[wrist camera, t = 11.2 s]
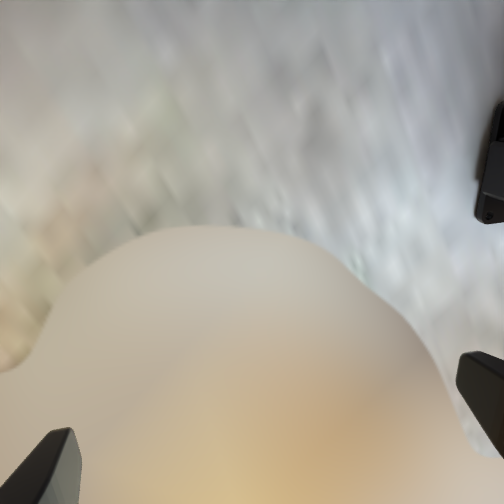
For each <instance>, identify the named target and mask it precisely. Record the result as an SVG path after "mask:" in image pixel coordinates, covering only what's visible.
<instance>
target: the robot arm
mask: <svg viewBox="0 0 504 504" xmlns="http://www.w3.org/2000/svg"><path fill="white" fill-rule="evenodd" d="M487 213H488V215H487V216H486V214H487ZM485 216H486V217H485ZM476 218H477V220H478V221H479V222H481V223H484V224H494V223H502V222H504V101H503V102H501V103H500V104H499V105H498V106H497V108H496V111H495V115H494V121H493V126H492V132H491V137H490V143H489V148H488V154H487V159H486V165H485V170H484V176H483V181H482V187H481V192H480V198H479V204H478V209H477V215H476ZM456 386H457V388H458V390H459V392H460V394H461V395H462V397H463V398H464V400H465V402H466V403H467V405H468V406H469V408H470V409H471V411H472V413H473V414H474V416H475V417H476V419H477V420H478V422H479V424H480V425H481V427H482V428H483V430H484V431H485V433H486V435H487V436H488V438H489V439H490V441H491V442H492V444H493V445H494V447H495V448H496V449H497V451H498V452H499V454H500V455H501V456H502V458H503V459H504V360H502V359H499V358H497V357H494V356H491V355H489V354H486V353H484V352H481V351H472V352H467V353H463V354H462V355H461V356H460V359H459V364H458V369H457V374H456ZM81 470H82V458H81V454H80V450H79V447H78V443H77V440H76V436H75V433H74V431H73V429H72V428H70V427H66V428H61V429H56V430H52V431H50V432H49V433H48V434H47V435H46V436H45V437H44V438H43V439H42V440H41V442H40V443H39V444H38V445H37V446H36V447H35V448H34V449H33V451H32V452H31V453H30V454H29V455H28V456H27V457H26V459H25V460H24V461H23V462H22V463H21V464H20V465H19V466H18V468H17V469H16V470H15V471H14V472H13V473H12V474H11V476H10V477H9V478H8V479H7V480H6V481H5V482H4V484H3V485H2V486H1V487H0V504H78V501H79V491H80V480H81Z"/></svg>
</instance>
